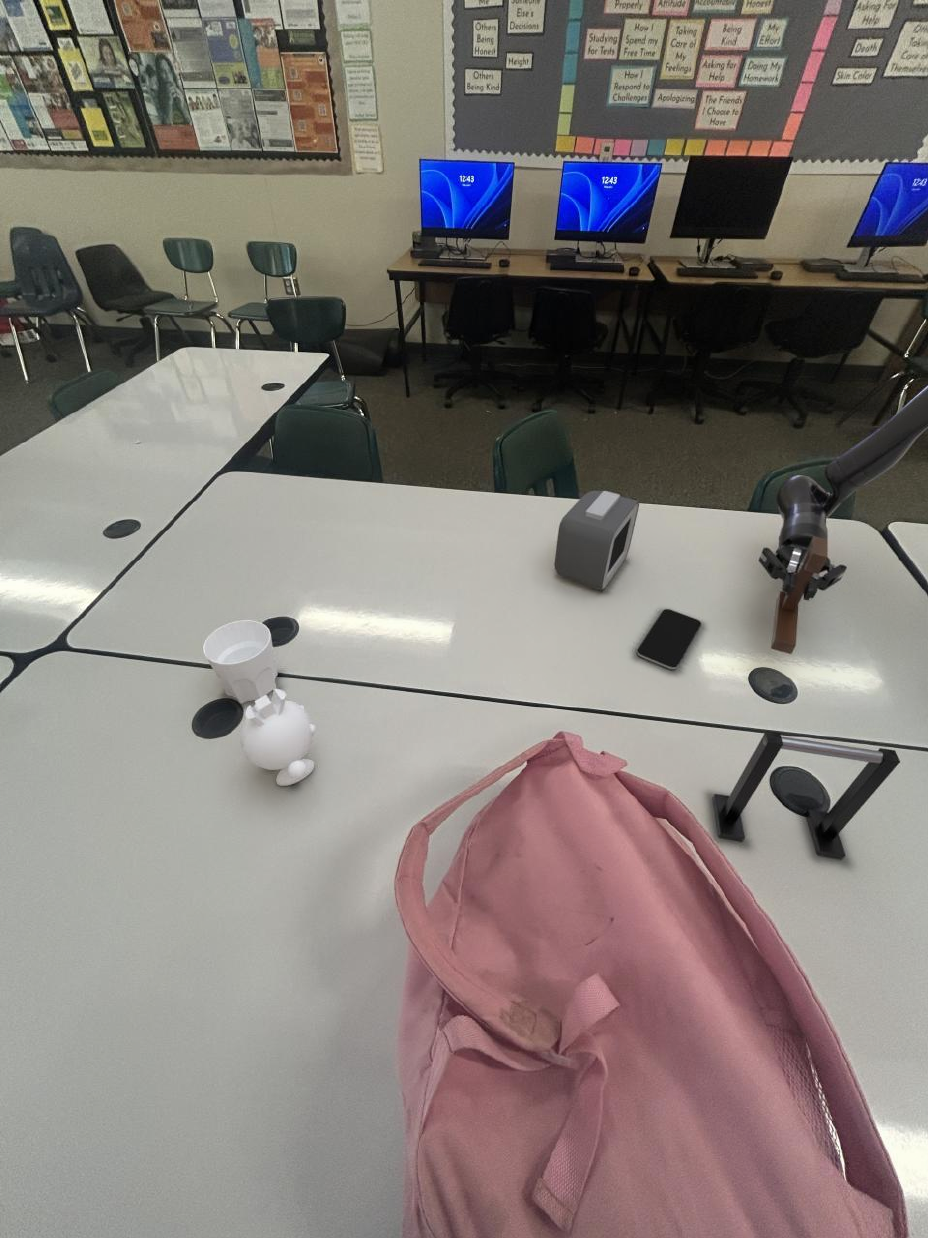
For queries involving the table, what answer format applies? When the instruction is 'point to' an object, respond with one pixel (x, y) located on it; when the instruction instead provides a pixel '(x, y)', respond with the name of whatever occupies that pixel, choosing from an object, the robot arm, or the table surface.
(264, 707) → the toy robot
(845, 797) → the rack
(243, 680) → the cup
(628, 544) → the alarm clock
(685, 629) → the smartphone
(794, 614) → the hanger
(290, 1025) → the table surface
